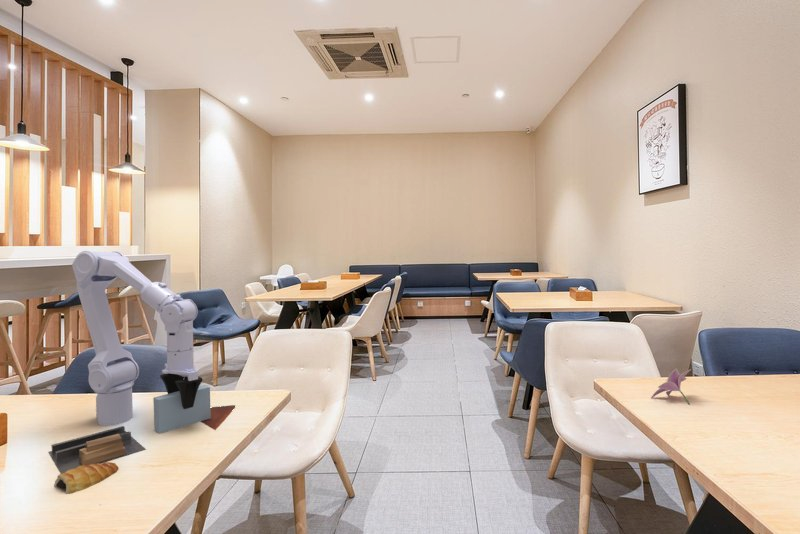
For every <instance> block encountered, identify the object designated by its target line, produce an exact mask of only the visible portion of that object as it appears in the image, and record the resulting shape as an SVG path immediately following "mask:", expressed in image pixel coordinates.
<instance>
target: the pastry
mask: <svg viewBox="0 0 800 534" xmlns="http://www.w3.org/2000/svg"><path fill="white" fill-rule="evenodd" d="M119 469H120V468H119V466H118V465H117V464H116V463H115V462H111V461H108V462H105V463H102V464H99V463H96V464H90V465H82V466H79V467H77V468H76V469H70V470H68V471H66V473H63V474H60V473H59V474H58V475H57V477H56V479H55V481H54V484H53V487H54V488H56V489H62V490H65V492H64V494H66V495H70V494H73V493H77V492H79V491H80V492H81V491H83V490H86V489H88V488H90V487H92V486H95V485H97V484H99V483H101V482H102V481H104V480H106V479H108V478H109V477H111V476H112V475H115V474H116V473H117V472H118V471H119Z"/></svg>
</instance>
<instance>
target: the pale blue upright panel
mask: <svg viewBox="0 0 800 534" xmlns="http://www.w3.org/2000/svg"><path fill="white" fill-rule="evenodd" d="M152 398H153V422H154V423H153V425H154V427H153V428H154V429H153V431H154V432H155V433H157V434H159V435H160V434H163V433H167V432H171V431H173V430H176V429H177V430H178V429H180V428H184V427H186V426H190V425H192V424H197V423H199V422H200V421H204V420H207V419H210V418H211V409H210V407H211V387H210V386H208V385H205V384H202V385H200V386H199V388H198V390H197V393H196V397H195V401H194V405H193V407H191V408H188V409H183V406H182V402H181V395H180V391H178V392H174V393H170V394H168V393H167V394H162V395H158V396H155V397H152ZM200 423H201V422H200Z"/></svg>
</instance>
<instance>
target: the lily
mask: <svg viewBox="0 0 800 534" xmlns="http://www.w3.org/2000/svg"><path fill="white" fill-rule="evenodd" d="M690 371H692V369H688V370H686V371H684V372H682V373H681V374H680V371H679V370H678V368H675V369H674V370H672V372H671V373H669V375H668V377H667V379H666V380H665V382H664V383H661V384H660V385H658V387H657V388H658V389H657V390H655V392H654V393H653V394H652V395H651V397H650V399H653V398H654V397H655V396H657V395H659V394H661V393H663V392H665V394H666V395H667V396H670V395H671V393H672V392H679V393H680V394H681V395H682V396H683V398H684V399H685V401H686V403H687V405H688V406H690V405H691V404H690V402H689V400H688V399H687V398H686V396H685V394H684V392H682V391H681V384H682V382H684V381H686V380H687V378H686V377H685V376H686V375H687V374H688V373H689V372H690Z"/></svg>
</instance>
